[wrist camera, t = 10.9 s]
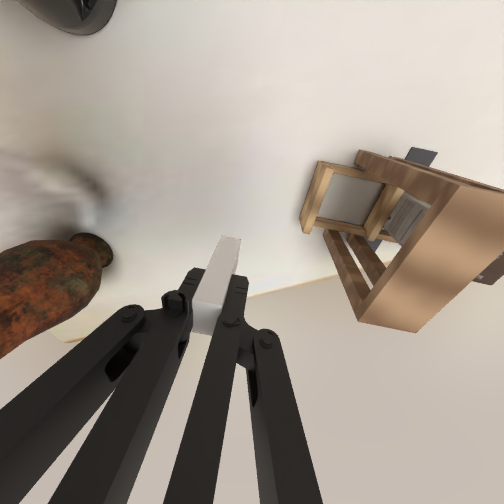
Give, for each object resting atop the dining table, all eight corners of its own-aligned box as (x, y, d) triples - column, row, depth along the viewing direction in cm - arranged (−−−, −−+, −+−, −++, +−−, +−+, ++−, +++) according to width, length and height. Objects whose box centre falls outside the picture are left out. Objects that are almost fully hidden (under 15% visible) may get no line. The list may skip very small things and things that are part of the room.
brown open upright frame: (359, 149, 32) (460, 185, 15) (401, 158, 32) (553, 204, 15) (322, 235, 41) (357, 321, 23) (356, 242, 41) (415, 333, 24)
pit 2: (411, 146, 31) (412, 147, 31) (436, 152, 31) (437, 152, 31) (397, 173, 33) (397, 173, 33) (420, 178, 34) (421, 178, 33)
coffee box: (441, 196, 35) (544, 244, 21) (418, 228, 38) (493, 286, 25) (390, 185, 35) (461, 226, 21) (371, 219, 38) (422, 272, 25)
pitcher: (139, 261, 50) (5, 401, 25) (91, 288, 58) (-48, 416, 33) (81, 206, 43) (-185, 324, 18) (35, 245, 51) (-197, 366, 26)
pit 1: (363, 233, 40) (364, 234, 40) (383, 237, 40) (383, 238, 40) (354, 249, 42) (354, 250, 42) (372, 253, 42) (373, 254, 42)
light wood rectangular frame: (318, 160, 33) (326, 167, 28) (470, 192, 33) (504, 205, 28) (299, 218, 39) (302, 232, 34) (428, 245, 39) (450, 263, 34)
